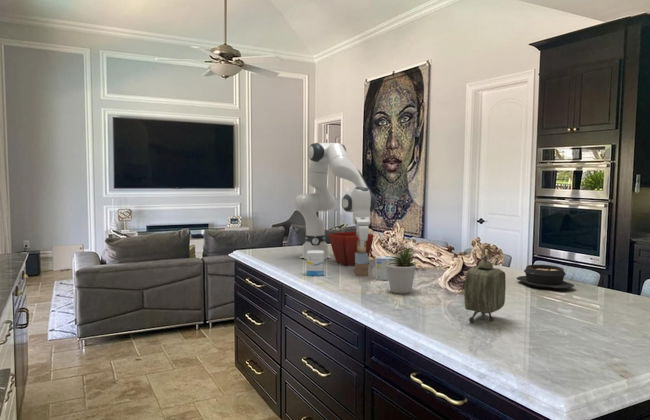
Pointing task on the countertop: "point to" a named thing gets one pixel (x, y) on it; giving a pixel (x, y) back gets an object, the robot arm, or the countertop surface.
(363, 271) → the tower base
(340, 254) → the plant pot
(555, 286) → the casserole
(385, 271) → the light bulb box
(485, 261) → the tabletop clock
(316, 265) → the ink box
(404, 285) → the potted plant
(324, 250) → the robot arm
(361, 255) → the tower top
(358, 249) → the brown cylinder
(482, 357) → the countertop surface
